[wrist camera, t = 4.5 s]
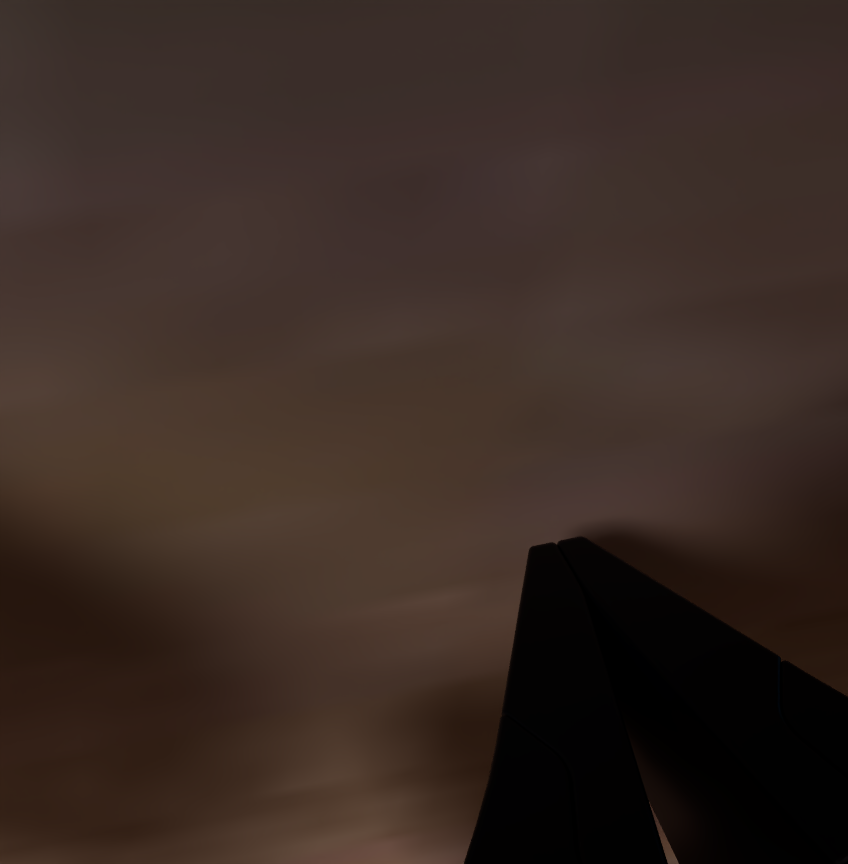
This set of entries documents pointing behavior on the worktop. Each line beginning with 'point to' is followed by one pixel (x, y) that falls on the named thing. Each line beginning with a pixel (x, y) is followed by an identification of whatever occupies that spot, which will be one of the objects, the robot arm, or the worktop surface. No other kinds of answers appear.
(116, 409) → the worktop surface
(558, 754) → the robot arm
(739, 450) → the worktop surface
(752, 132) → the worktop surface
